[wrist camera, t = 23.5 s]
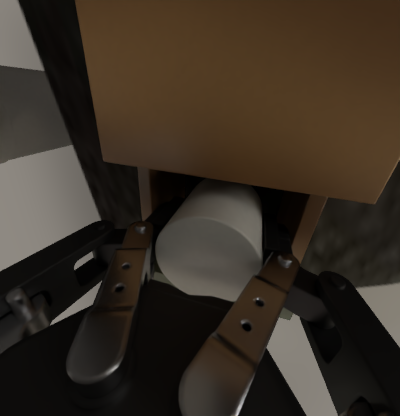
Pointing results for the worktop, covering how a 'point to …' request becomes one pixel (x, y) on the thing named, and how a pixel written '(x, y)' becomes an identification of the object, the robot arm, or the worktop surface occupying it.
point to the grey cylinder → (213, 240)
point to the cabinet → (249, 90)
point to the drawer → (287, 214)
